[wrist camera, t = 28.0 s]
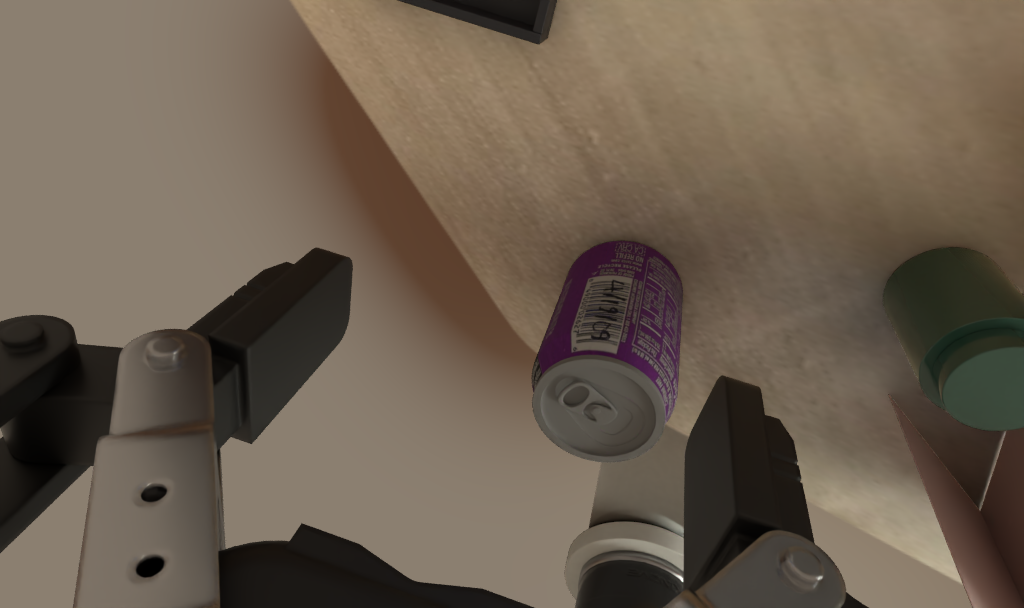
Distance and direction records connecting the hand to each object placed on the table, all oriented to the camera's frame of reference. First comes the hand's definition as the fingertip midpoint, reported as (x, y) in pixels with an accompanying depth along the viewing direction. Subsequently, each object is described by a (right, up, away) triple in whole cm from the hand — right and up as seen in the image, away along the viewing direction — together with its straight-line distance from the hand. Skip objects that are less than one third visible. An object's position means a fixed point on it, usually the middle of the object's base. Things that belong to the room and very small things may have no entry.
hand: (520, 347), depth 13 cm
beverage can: (+7, +2, +25) cm, 26 cm away
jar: (+23, +1, +20) cm, 31 cm away
